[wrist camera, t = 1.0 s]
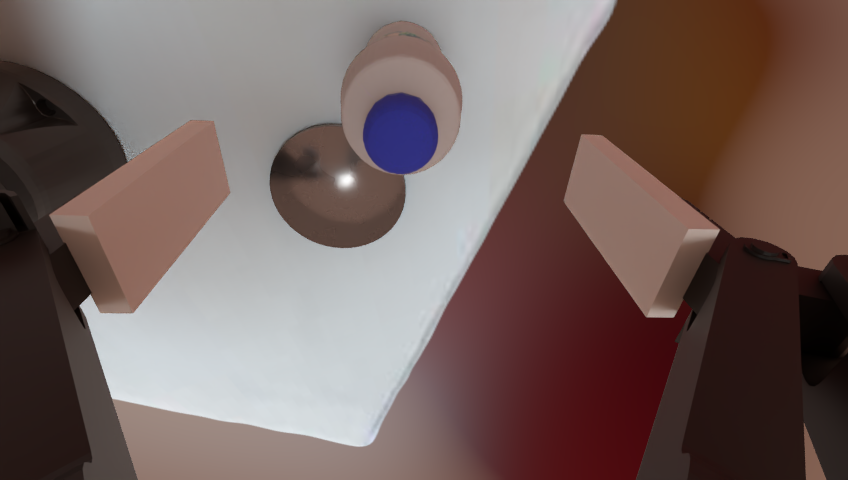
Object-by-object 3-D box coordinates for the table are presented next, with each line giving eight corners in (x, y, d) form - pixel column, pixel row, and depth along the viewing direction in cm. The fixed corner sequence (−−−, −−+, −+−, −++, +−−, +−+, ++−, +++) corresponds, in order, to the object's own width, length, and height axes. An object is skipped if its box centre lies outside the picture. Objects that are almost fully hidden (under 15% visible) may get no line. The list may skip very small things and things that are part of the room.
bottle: (444, 99, 36) (478, 208, 19) (369, 105, 36) (335, 218, 19) (442, 12, 32) (480, 51, 15) (357, 18, 32) (302, 64, 15)
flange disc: (281, 242, 43) (279, 246, 42) (261, 120, 36) (259, 123, 35) (403, 245, 44) (403, 249, 43) (407, 126, 37) (407, 129, 36)
